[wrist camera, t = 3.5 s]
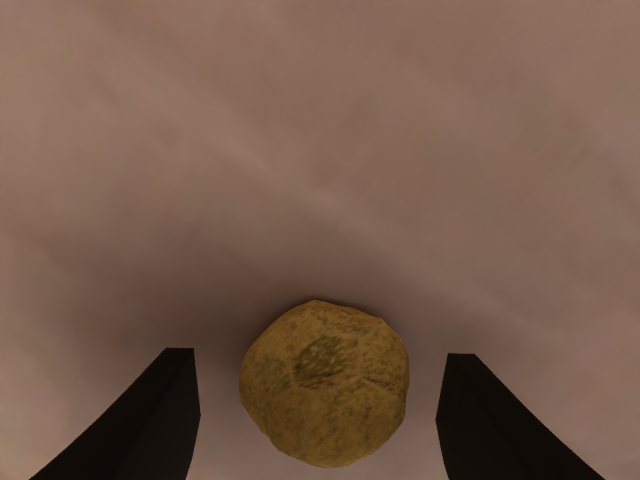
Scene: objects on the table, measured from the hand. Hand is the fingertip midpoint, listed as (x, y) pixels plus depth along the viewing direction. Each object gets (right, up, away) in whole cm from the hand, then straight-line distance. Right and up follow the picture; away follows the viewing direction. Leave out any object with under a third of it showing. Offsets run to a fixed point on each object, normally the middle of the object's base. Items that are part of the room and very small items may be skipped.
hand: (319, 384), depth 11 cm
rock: (0, +1, +1) cm, 2 cm away
